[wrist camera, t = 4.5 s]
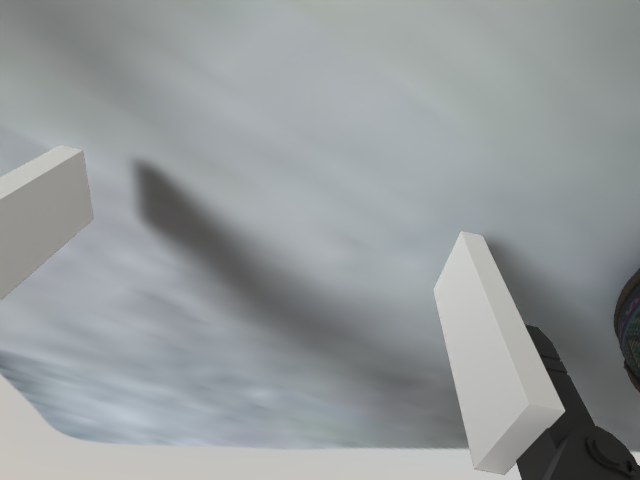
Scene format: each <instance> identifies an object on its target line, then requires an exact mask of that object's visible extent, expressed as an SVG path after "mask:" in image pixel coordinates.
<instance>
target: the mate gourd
mask: <svg viewBox="0 0 640 480" xmlns="http://www.w3.org/2000/svg"><path fill="white" fill-rule="evenodd" d="M614 327H615V332H616V335H617V337H618V339H619V343H620V348H621V351H622V354H623V356H624V358H625V361H624V368H625V369H626V371H627V373H628V375H629V378H630V380H631V382H632V383H633V385H634V386H635V388H636V389H637V390H638V391H639V392H640V269H639V270H638V271H637V272H636V273H635V274H634V276H633V277H632V278H631V279H630V280H629V282H628V283H627V284H626V286H625V287H624V289H623V290H622V292H621V295H620V297H619V299H618V302H617V306H616V310H615V314H614Z"/></svg>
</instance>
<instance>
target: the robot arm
mask: <svg viewBox="0 0 640 480" xmlns="http://www.w3.org/2000/svg"><path fill="white" fill-rule="evenodd" d="M93 219H94V216H93V209H92V203H91V197H90V191H89V185H88V178H87V172H86V166H85V160H84V153H83V150H81V149H76V148H71V147H67V146H62V145H60V146H58V147H56V148H54V149H52V150H50V151H48V152H46V153H45V154H43V155H41V156H39V157H37V158H35V159H33V160H32V161H30V162H28V163H26V164H24V165H22V166H20V167H18V168H17V169H15V170H13V171H11V172H9V173H7V174H5V175H4V176H2V177H0V301H1V300H2V299H3V298H5V297H6V296H7V295H8V294H9V293H10V292H11V291H13V290H14V289H15V288H16V287H17V286H18V285H19V284H21V283H22V282H23V281H24V280H25V279H26V278H27V277H29V276H30V275H31V274H32V273H33V272H34V271H35V270H36V269H38V268H39V267H40V266H41V265H42V264H43V263H44V262H46V261H47V260H48V259H49V258H50V257H51V256H52V255H54V254H55V253H56V252H57V251H58V250H59V249H60V248H62V247H63V246H64V245H65V244H66V243H67V242H68V241H70V240H71V239H72V238H73V237H74V236H75V235H76V234H77V233H79V232H80V231H81V230H82V229H83V228H84V227H85V226H87V225H88V224H89V223H90V222H91V221H92V220H93ZM433 291H434V296H435V300H436V304H437V309H438V313H439V317H440V322H441V326H442V331H443V335H444V339H445V344H446V348H447V352H448V357H449V361H450V365H451V370H452V374H453V379H454V383H455V387H456V392H457V396H458V400H459V405H460V409H461V414H462V418H463V422H464V427H465V431H466V435H467V440H468V444H469V449H470V453H471V457H472V461H473V466H474V469H476V470H482V471H487V472H492V473H497V474H502V475H505V474H506V473H507V472H508V471H509V470H510V469H511V468H512V467H513V466H514V464H515V463H516V462H517V465H518V469H519V472H520V475H521V478H522V480H640V466H639V465H637V463H636V460H635V458H634V457H633V455H632V454H631V453H630V452H629V450H628V449H627V448H626V447H625V445H624V444H622V443H621V442H620V441H619V440H618V439H617V438H616V437H614V436H613V435H612V434H610V433H609V432H607V431H605V430H604V429H602V428H600V427H598V426H595V424H594V422H593V420H592V418H591V416H590V415H589V413H588V411H587V409H586V407H585V405H584V403H583V401H582V399H581V397H580V396H579V394H578V392H577V390H576V388H575V386H574V384H573V382H572V380H571V378H570V376H569V375H567V371H566V369H565V367H564V365H563V363H562V362H560V357H559V355H558V354H557V352H556V350H555V348H554V346H553V344H552V342H551V341H550V340H549V339H548V338H547V337H546V336H545V335H544V334H543V333H542V332H541V331H540V329H539V328H538V327H533V326H529V325H525V324H524V322H523V320H522V318H521V316H520V314H519V312H518V310H517V308H516V305H515V303H514V301H513V299H512V297H511V295H510V293H509V291H508V289H507V286H506V284H505V282H504V280H503V278H502V276H501V274H500V272H499V269H498V267H497V265H496V263H495V261H494V259H493V257H492V255H491V253H490V250H489V248H488V246H487V244H486V242H485V240H484V238H483V236H481V235H477V234H472V233H467V232H463V231H461V232H460V235H459V237H458V239H457V241H456V243H455V245H454V247H453V249H452V252H451V254H450V256H449V258H448V260H447V262H446V264H445V266H444V268H443V271H442V273H441V275H440V277H439V279H438V281H437V283H436V285H435V287H434V290H433Z"/></svg>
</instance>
